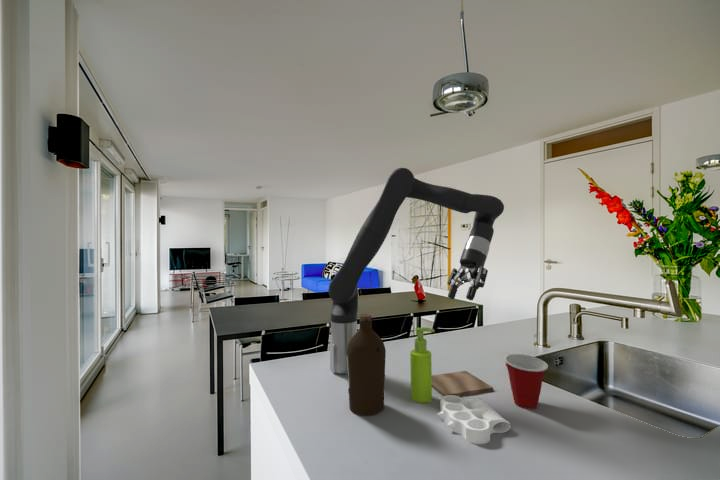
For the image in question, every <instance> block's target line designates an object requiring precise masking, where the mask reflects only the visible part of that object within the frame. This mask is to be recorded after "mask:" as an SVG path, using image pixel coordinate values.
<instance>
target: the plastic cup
mask: <svg viewBox="0 0 720 480" xmlns="http://www.w3.org/2000/svg"><path fill="white" fill-rule="evenodd" d="M503 360H504V362H505V364H506V368H507V371H508V378H509V384H510V389H511V393H512V398H513V402H514V404H515V405H517V406H518V407H520V408H523V409H531V410H532V409H536V408H537V407H538V405H539V400H540V395H541V390H542V385H543V379H544V376H545V373H546V371H547V370H548V368H549V365H548V363H547V362H546V361H544V360H543V359H541V358H538V357H535V356H532V355H529V354H528V355H527V354H523V353H522V354H521V353H512V354H508V355H505V356H504V358H503Z"/></svg>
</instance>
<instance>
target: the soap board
mask: <svg viewBox="0 0 720 480" xmlns="http://www.w3.org/2000/svg"><path fill="white" fill-rule="evenodd" d="M432 389H433V390H435V391H436V393H438V394H440V395H441V396H442V397H443V396H446V395H454V396H458V397H463V396H468V395H474V394H475V395H476V394H482V393H487V392H494V386H492V385H490V384H489V383H486V382H485V381H483V380H481V379H480V378H478V377H476V376H475V375H473V374H472V373H471V372H468V371H467V370H463V371H455V372H447V373H440V374H439V373H438V374H432Z"/></svg>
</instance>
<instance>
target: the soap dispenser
mask: <svg viewBox="0 0 720 480" xmlns="http://www.w3.org/2000/svg"><path fill="white" fill-rule="evenodd" d="M414 331H415V332H416V333H417V338H415V339H414V349H412V350H411V351H410V352H409V353H410V399H411V400H412V401H414V402H415V403H419V404H426V403H429V402H431V401H432V399H433V391H432V390H433V388H432V375H433V374H432V352H431V351H430V350H427V349H428V347H427V343H428V342H427V339H425V338H424V332H428V333H435V328H430V327H415V330H414Z"/></svg>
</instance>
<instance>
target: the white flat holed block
mask: <svg viewBox="0 0 720 480" xmlns="http://www.w3.org/2000/svg"><path fill="white" fill-rule="evenodd" d="M439 401H440V402H439V403H440V407H439V408H440V412H438V413H436V415H437V416H439V417H441V418H442V420H443V422H444V423H446V424H447V425H446V427H447V428H448V429H450V430H451V431H453V432H454V433H455V434H459V435H460V436H462V437H463V438H464V440H465V441H466V442H468V443H471V444H475V445H485V444H487V443H489V442H490V440H491V435H492V434H503V433H506V432H508V431H510V430H511V423H510V422H509V421H508V420H506V419H505V418H504V417H502V416H501V415H500V414H499V413H498V412H497V411H496V410H494V409H493V408H492V407H490V406H489V404H487V402H486V401H484V400H482V399H479V398H469V399H467V398H463V397H462V396H454V395H446V396H442V397H440V400H439Z"/></svg>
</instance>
